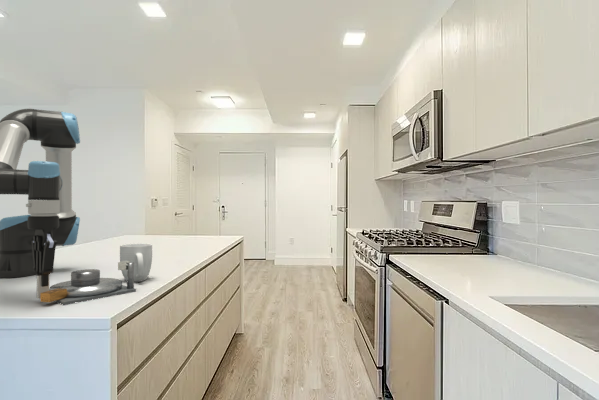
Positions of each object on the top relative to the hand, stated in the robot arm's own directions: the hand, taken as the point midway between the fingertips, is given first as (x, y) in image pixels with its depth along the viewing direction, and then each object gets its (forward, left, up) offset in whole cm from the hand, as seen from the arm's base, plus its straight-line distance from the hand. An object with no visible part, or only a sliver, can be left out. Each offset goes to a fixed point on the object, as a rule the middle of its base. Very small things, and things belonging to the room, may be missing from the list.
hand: (42, 297), depth 108 cm
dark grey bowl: (-3, +13, +1) cm, 13 cm away
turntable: (-1, +10, 0) cm, 10 cm away
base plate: (-2, +13, -1) cm, 13 cm away
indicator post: (+5, +22, -1) cm, 22 cm away
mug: (-7, +32, -2) cm, 33 cm away
